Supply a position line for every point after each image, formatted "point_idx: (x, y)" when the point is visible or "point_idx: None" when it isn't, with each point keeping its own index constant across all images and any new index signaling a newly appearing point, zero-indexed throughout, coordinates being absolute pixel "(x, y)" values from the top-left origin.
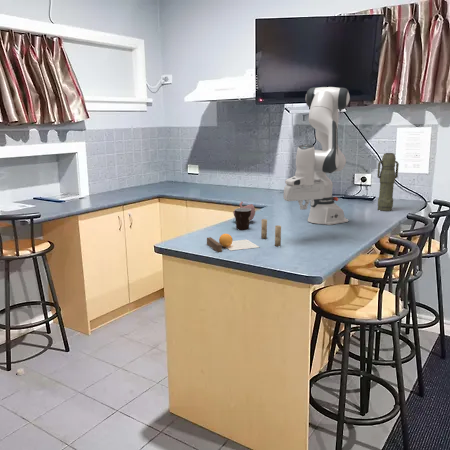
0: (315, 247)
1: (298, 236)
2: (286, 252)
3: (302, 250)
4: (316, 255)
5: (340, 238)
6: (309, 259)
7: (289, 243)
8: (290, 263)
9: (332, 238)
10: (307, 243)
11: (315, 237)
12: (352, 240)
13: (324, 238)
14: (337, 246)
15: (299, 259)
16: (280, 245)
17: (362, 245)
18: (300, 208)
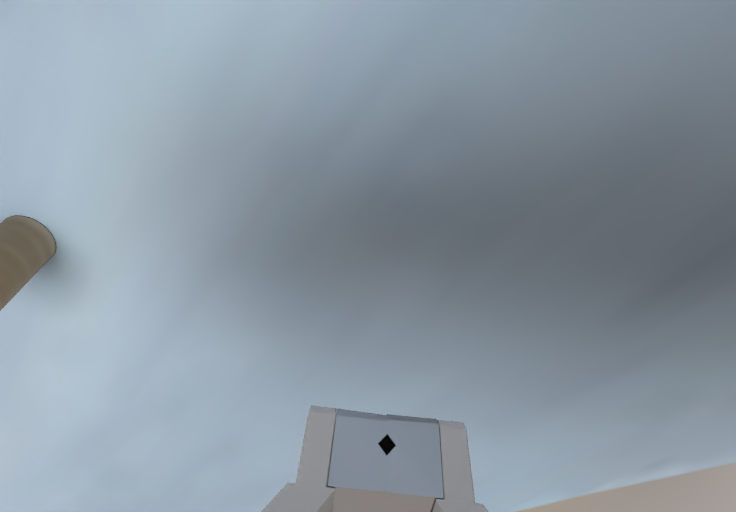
0: (312, 393)
1: (408, 48)
2: (51, 387)
3: (182, 400)
4: (217, 484)
5: (715, 314)
6: (143, 505)
7: (163, 233)
8: (17, 504)
9: (655, 283)
10: (321, 300)
11: (548, 181)
12: (725, 391)
13: (591, 251)
14: (474, 435)
15: (88, 488)
16: (49, 258)
17: (641, 481)
18: (306, 430)
